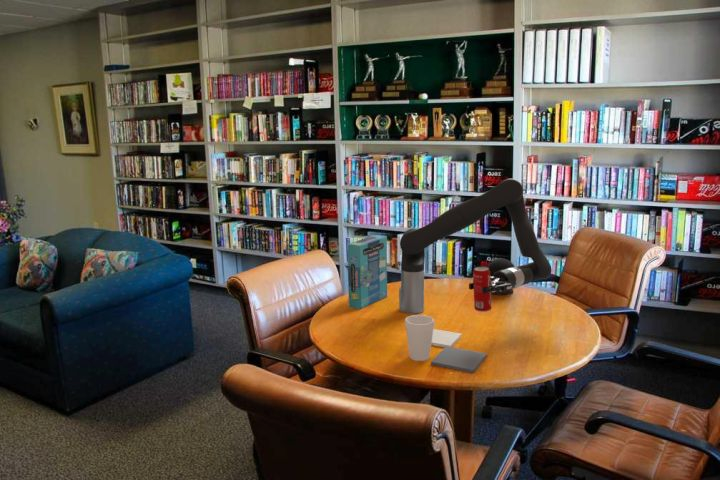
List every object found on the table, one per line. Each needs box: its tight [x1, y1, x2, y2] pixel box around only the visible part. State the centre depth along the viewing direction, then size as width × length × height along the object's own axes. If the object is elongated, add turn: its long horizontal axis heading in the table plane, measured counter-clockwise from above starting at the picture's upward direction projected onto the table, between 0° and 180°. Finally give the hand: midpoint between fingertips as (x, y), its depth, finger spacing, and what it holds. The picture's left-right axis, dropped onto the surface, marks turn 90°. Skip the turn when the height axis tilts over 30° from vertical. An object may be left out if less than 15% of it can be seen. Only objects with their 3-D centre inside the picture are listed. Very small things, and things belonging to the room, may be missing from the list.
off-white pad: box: [431, 328, 463, 348], centre depth 208 cm, size 12×12×1 cm
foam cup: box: [404, 314, 435, 362], centre depth 192 cm, size 10×9×13 cm
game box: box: [347, 234, 388, 310], centre depth 247 cm, size 20×6×27 cm, turn 144°
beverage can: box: [472, 266, 492, 313], centre depth 201 cm, size 6×6×15 cm
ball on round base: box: [486, 257, 516, 296], centre depth 259 cm, size 13×13×15 cm
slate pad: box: [430, 346, 488, 374], centre depth 190 cm, size 14×14×1 cm
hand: (476, 288), depth 200 cm, fingers closed on beverage can, 5 cm apart
